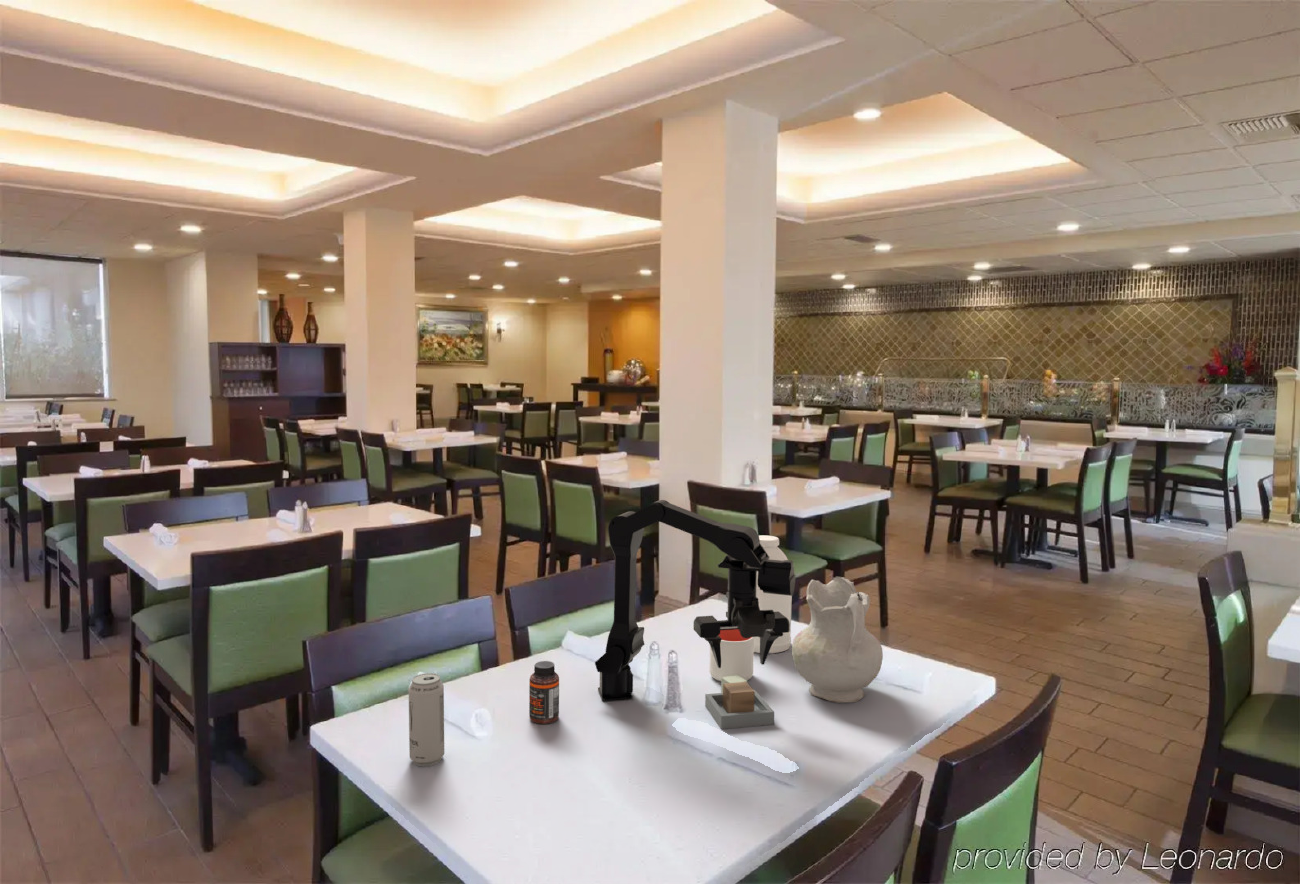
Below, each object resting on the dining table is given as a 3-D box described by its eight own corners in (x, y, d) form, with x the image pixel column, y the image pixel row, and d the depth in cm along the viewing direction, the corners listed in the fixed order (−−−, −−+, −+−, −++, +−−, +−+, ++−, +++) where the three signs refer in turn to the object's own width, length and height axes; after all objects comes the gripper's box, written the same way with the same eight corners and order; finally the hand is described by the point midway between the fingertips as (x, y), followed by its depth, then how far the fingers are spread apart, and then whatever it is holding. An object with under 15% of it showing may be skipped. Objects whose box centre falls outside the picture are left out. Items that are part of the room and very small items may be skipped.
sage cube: (731, 702, 170) (731, 684, 169) (721, 695, 173) (721, 677, 173) (746, 698, 172) (747, 680, 171) (736, 692, 175) (736, 674, 175)
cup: (755, 685, 179) (756, 642, 178) (710, 684, 179) (711, 641, 178) (750, 669, 189) (751, 627, 188) (708, 668, 189) (708, 627, 188)
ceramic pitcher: (905, 712, 168) (917, 595, 166) (826, 719, 160) (838, 597, 159) (843, 676, 188) (854, 572, 187) (771, 681, 181) (781, 572, 179)
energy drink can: (408, 754, 145) (407, 674, 144) (442, 749, 147) (441, 670, 146) (410, 770, 139) (409, 686, 138) (446, 764, 141) (445, 682, 140)
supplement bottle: (523, 721, 159) (522, 666, 158) (540, 710, 165) (540, 656, 164) (547, 727, 157) (547, 671, 156) (564, 716, 162) (565, 661, 161)
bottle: (729, 637, 211) (731, 532, 209) (779, 634, 214) (782, 531, 211) (745, 655, 197) (748, 544, 195) (798, 652, 200) (802, 542, 197)
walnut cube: (722, 707, 165) (723, 683, 165) (745, 705, 166) (746, 681, 166) (730, 717, 160) (730, 693, 160) (754, 715, 161) (754, 691, 161)
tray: (721, 729, 157) (721, 716, 156) (705, 706, 167) (705, 694, 167) (774, 724, 159) (774, 711, 159) (754, 701, 170) (755, 690, 170)
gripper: (709, 604, 151) (708, 684, 152) (801, 598, 155) (799, 676, 156) (693, 588, 162) (692, 663, 163) (779, 584, 166) (778, 657, 167)
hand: (740, 665), depth 162 cm, fingers open, 9 cm apart
